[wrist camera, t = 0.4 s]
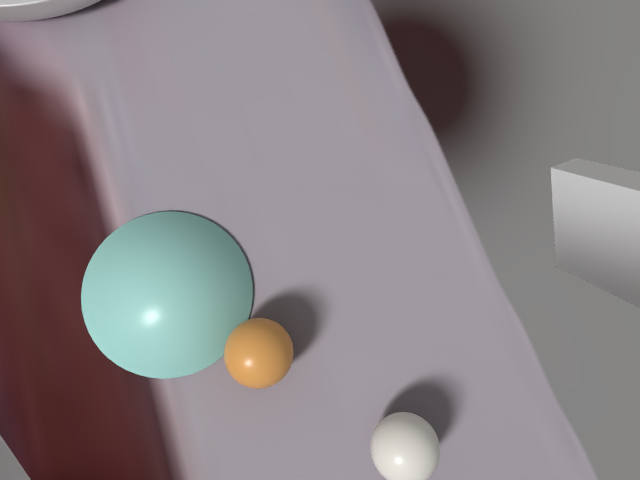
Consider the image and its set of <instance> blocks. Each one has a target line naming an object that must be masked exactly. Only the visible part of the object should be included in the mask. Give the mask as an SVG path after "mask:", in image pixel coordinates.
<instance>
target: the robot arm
mask: <svg viewBox="0 0 640 480" xmlns="http://www.w3.org/2000/svg"><path fill="white" fill-rule="evenodd" d="M551 180H552V199H553V218H554V236H555V255H556V267H558V268H560V269H563V270H564V271H567V272H568V273H571V274H572V275H575V276H577V277H578V278H581V279H583V280H585V281H587V282H589V283H591V284H593V285H595V286H597V287H599V288H601V289H603V290H605V291H607V292H609V293H611V294H613V295H615V296H618V297H619V298H621V299H623V300H625V301H627V302H629V303H631V304H633V305H635V306H638V307H640V172H636V171H632V170H627V169H623V168H619V167H614V166H610V165H605V164H601V163H596V162H592V161H588V160H583V159H579V158H575V159H572V160H570V161H567V162H565V163H562V164H559V165H557V166H554V167H552V168H551ZM0 480H30V478H29V477H28V475H27V474H26V472H25V471H24V469H23V468H22V466H21V465H20V463H19V462H18V461H17V459H16V458H15V456H14V455H13V453H12V452H11V450H10V449H9V447H8V446H7V444H6V443H5V441H4V440H3V438H2V437H1V436H0Z"/></svg>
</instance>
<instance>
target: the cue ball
mask: <svg viewBox="0 0 640 480" xmlns="http://www.w3.org/2000/svg"><path fill="white" fill-rule="evenodd" d="M370 447H371V456H372V459H373V462H374V464H375V466H376V468H377V469H378V471H379V472H380V473H381V474H382V475H383V476H384V477H385V478H386V479H387V480H427V479H428V478H429V477H430V476H431V475H432V474H433V472H434V471H435V469H436V467H437V465H438V462H439V457H440V446H439V441H438V437H437V435H436V433H435V431H434V429H433V428H432V427H431V425H430V424H429V423H428V422H427V421H426V420H424V419H423V418H422V417H420V416H418V415H416V414H413V413H409V412H397V413H393V414H390V415H388V416H387V417H385V418H384V419H382V420H381V421H380V422H379V424H378V425H377V426H376V428H375V430H374V432H373V434H372V438H371V445H370Z"/></svg>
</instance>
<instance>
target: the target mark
mask: <svg viewBox="0 0 640 480" xmlns="http://www.w3.org/2000/svg"><path fill="white" fill-rule="evenodd" d="M252 299H253V284H252V277H251V273H250V269H249V265H248V263H247V261H246V258H245V256H244V254H243V252H242V251H241V249H240V247H239V246H238V245H237V243H236V242H235V241H234V240H233V238H232V237H231V236H230V235H229V234H228V233H227V232H226V231H224V230H223V229H222V228H220V227H219V226H218V225H216V224H214V223H213V222H211V221H209V220H207V219H205V218H202V217H200V216H197V215H193V214H189V213H184V212H170V211H166V212H157V213H152V214H148V215H144V216H141V217H138V218H136V219H133V220H131V221H129V222H127V223H126V224H124V225H122V226H121V227H119V228H118V229H116V230H115V231H114V232H113V233H112V234H110V235H109V236H108V237H107V238H106V239H105V240H104V241H103V243H102V244H101V245H100V246H99V247H98V249H97V250H96V252H95V253H94V255H93V256H92V258H91V260H90V262H89V264H88V267H87V269H86V272H85V275H84V279H83V284H82V293H81V303H82V312H83V317H84V321H85V324H86V326H87V329H88V332H89V334H90V335H91V337H92V339H93V341H94V342H95V344H96V345H97V346H98V348H99V349H100V350H101V351H102V352H103V353H104V354H105V355H106V356H107V357H108V358H109V359H110V360H112V361H113V362H114V363H116V364H117V365H118V366H120V367H122V368H124V369H126V370H127V371H130V372H133V373H135V374H138V375H142V376H146V377H152V378H175V377H181V376H186V375H189V374H192V373H195V372H198V371H200V370H202V369H204V368H206V367H208V366H210V365H211V364H213V363H215V362H216V361H217V360H218V359H220V358H221V357H222V356H224V348H225V344H226V341H227V338H228V337H229V335H230V333H231V332H232V331H233V330H234V329H235V328H236V327H237V326H238V325H239V324H241V323H242V322H244V321H246V320H248V318H249V315H250V311H251V306H252Z"/></svg>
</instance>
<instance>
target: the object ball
mask: <svg viewBox="0 0 640 480" xmlns="http://www.w3.org/2000/svg"><path fill="white" fill-rule="evenodd" d="M224 360H225V364H226V367H227V370H228V371H229V373H230V375H231V376H232V377H233V378H234V379H235V380H236V381H237V382H238V383H240V384H242V385H244V386H246V387H249V388H255V389H261V388H267V387H270V386H272V385H274V384H276V383H278V382H279V381H280V380H281V379H282V378H283V377H284V376H285V375H286V374H287V372H288V371H289V369H290V367H291V364H292V361H293V344H292V341H291V338H290V336H289V334H288V333H287V331H286V330H285V329H284V328H283V327H282V326H281V325H280V324H278V323H277V322H275V321H273V320H270V319H266V318H253V319H249V320H246V321H244V322H242V323H241V324H239V325H238V326H237V327H236V328H235V329H234V330H233V331H232V332H231V333H230V335H229V337H228V338H227V341H226V344H225V348H224Z"/></svg>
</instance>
